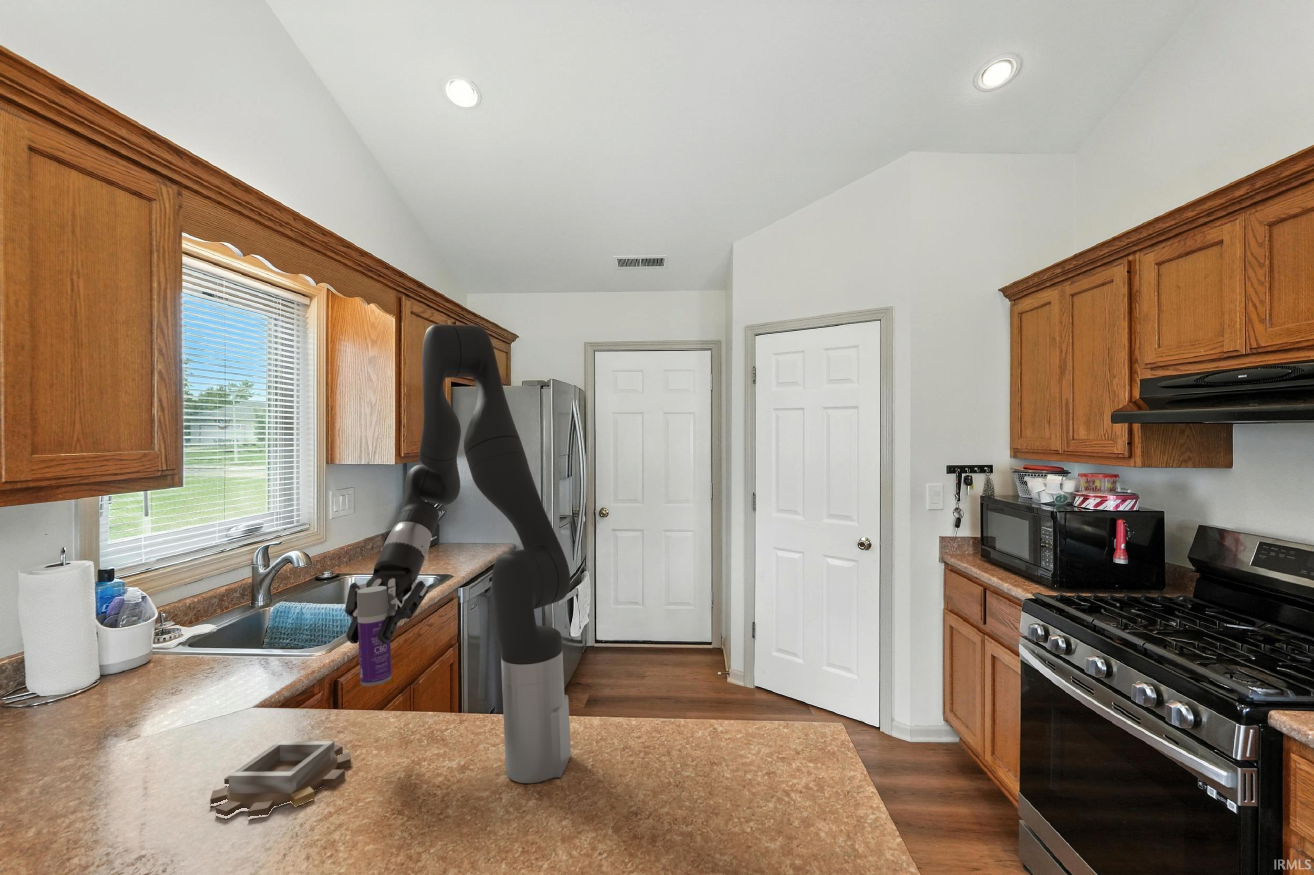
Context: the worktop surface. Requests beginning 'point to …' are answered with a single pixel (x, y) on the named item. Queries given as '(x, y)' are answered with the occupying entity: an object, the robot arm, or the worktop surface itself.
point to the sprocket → (282, 777)
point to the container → (373, 636)
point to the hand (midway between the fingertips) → (367, 640)
